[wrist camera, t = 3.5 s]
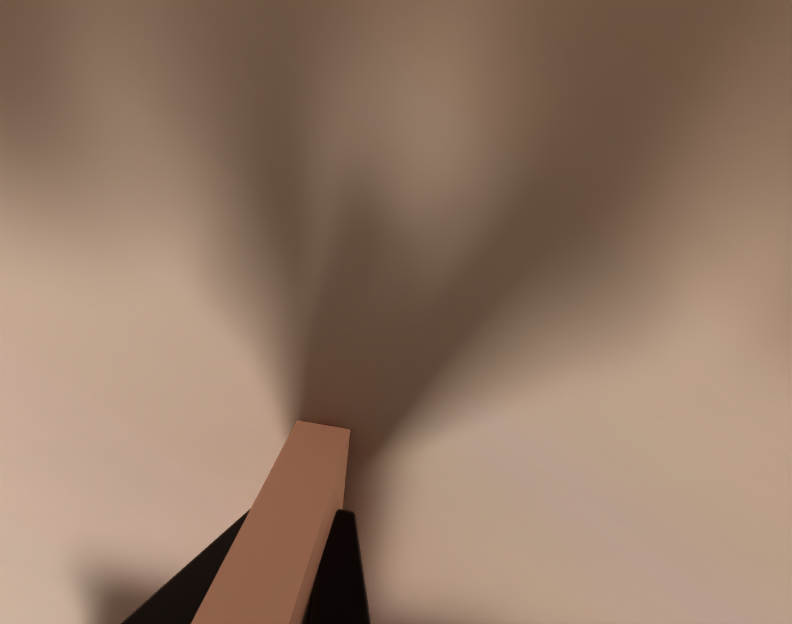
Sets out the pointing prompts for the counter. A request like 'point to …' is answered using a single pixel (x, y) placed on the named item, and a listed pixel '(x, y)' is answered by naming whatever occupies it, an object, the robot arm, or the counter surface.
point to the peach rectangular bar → (283, 534)
